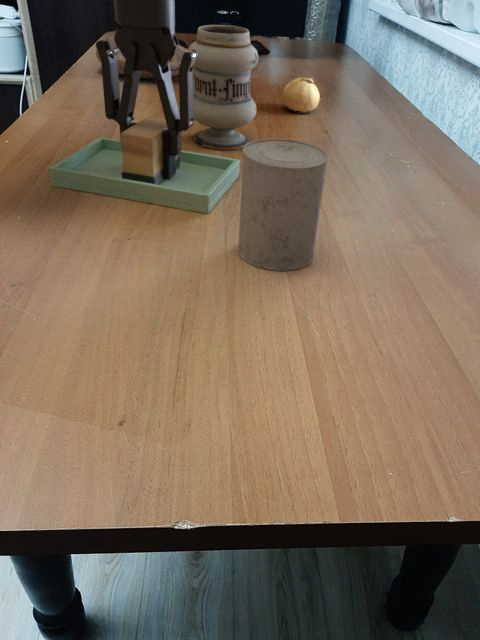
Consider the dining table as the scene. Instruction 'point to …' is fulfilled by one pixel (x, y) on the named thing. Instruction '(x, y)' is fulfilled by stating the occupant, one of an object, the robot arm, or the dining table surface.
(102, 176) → the tray
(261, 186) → the grey cylinder
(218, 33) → the apothecary jar
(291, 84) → the onion
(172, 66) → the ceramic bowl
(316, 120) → the dining table surface
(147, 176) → the eraser
